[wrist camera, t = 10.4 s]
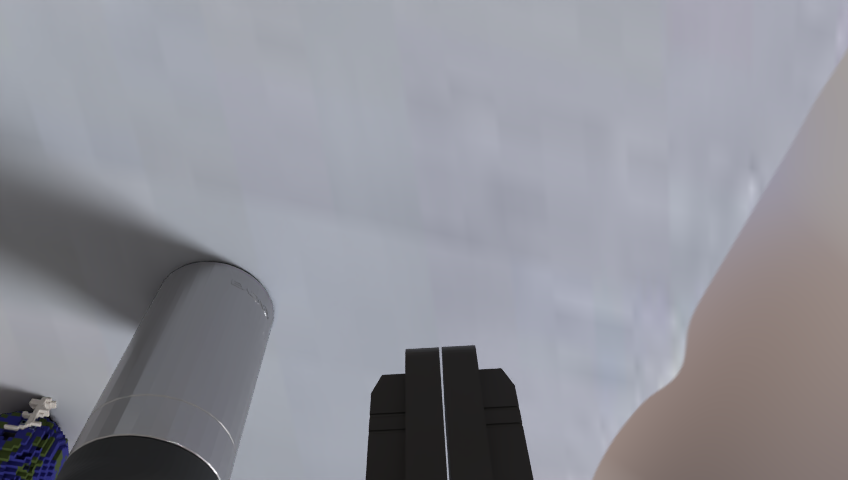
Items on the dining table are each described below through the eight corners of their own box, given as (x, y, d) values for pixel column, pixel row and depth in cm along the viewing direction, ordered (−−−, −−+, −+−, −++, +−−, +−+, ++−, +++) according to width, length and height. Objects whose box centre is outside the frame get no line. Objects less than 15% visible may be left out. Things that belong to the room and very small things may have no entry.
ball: (-15, 388, 57) (-69, 459, 50) (77, 401, 58) (35, 472, 52) (-5, 449, 61) (-54, 522, 54) (80, 460, 62) (42, 533, 56)
